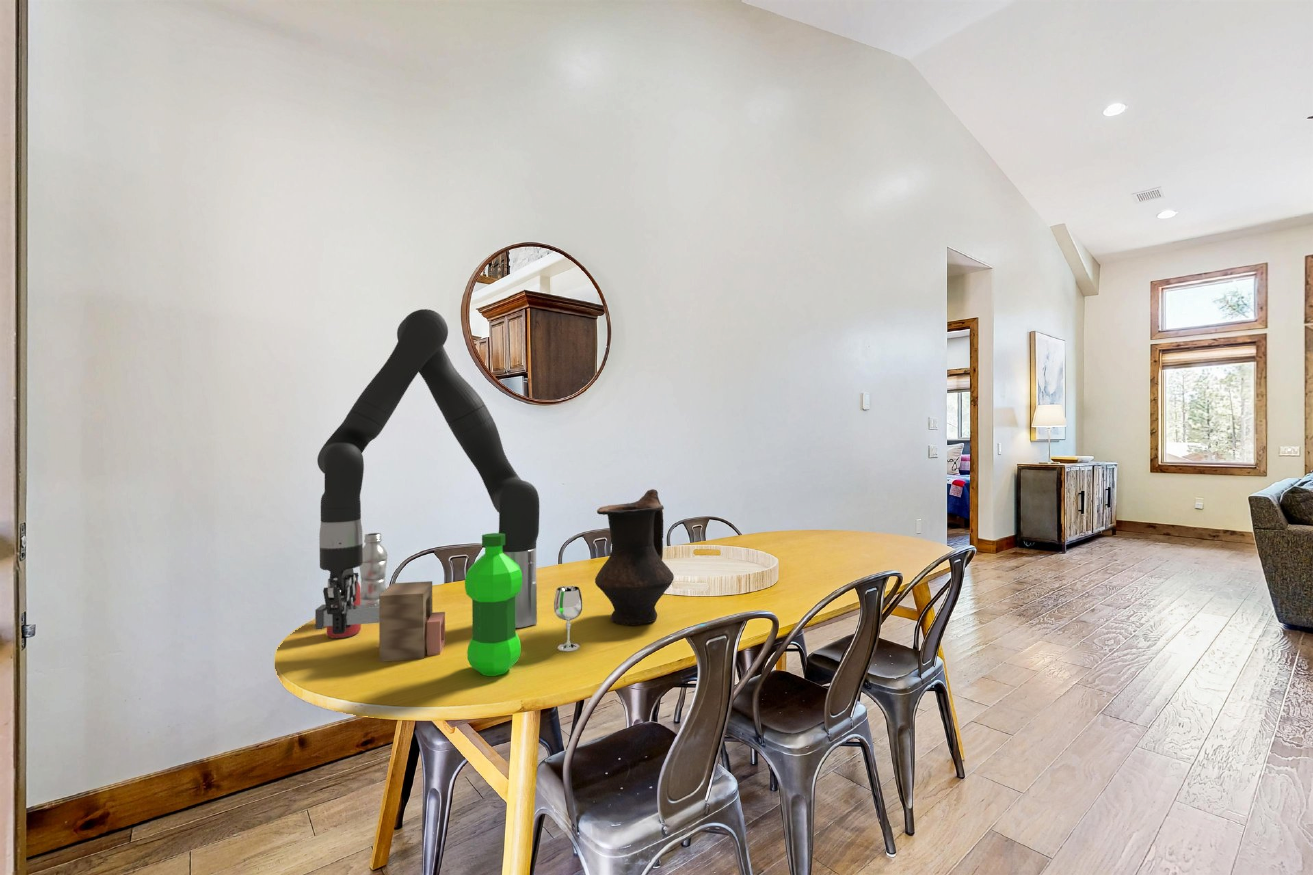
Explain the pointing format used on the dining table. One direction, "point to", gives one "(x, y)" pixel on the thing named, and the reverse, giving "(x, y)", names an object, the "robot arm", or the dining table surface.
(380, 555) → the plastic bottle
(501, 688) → the dining table surface
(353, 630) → the beer can
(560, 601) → the wineglass
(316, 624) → the shaft
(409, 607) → the brown wooden block
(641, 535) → the jug
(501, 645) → the plastic bottle
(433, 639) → the spacer
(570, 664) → the dining table surface
